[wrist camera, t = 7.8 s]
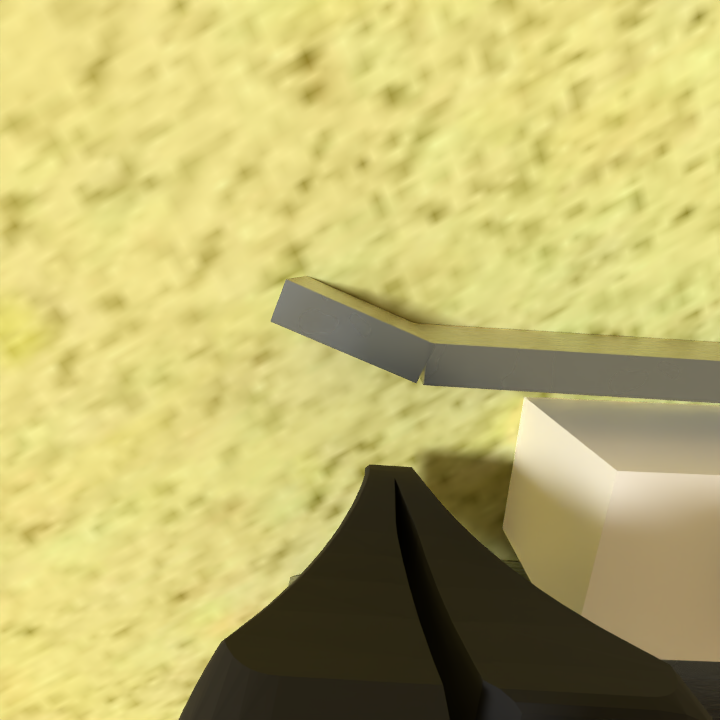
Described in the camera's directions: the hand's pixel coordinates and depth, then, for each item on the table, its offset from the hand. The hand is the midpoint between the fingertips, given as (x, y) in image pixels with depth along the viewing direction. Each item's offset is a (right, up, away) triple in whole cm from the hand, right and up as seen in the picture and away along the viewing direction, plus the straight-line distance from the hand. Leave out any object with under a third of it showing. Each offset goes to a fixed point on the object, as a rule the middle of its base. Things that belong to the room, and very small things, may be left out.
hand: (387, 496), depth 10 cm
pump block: (+8, 0, +2) cm, 8 cm away
